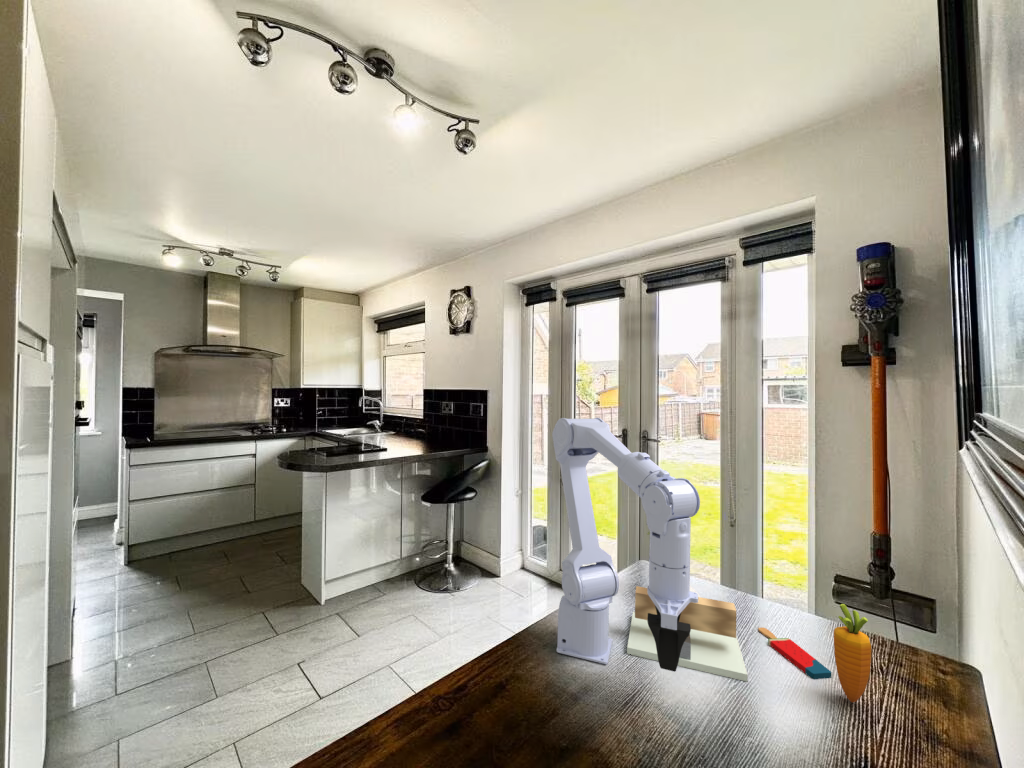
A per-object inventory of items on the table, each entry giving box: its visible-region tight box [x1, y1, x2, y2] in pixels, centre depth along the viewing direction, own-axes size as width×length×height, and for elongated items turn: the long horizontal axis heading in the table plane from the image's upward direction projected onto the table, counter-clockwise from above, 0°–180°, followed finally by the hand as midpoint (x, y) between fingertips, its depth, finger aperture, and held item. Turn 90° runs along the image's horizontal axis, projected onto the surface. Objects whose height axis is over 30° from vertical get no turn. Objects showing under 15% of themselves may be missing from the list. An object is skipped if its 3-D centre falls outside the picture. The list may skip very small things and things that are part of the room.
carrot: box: [833, 603, 872, 703], centre depth 68 cm, size 5×5×15 cm
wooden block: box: [634, 586, 737, 638], centre depth 82 cm, size 18×3×5 cm, turn 70°
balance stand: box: [626, 610, 749, 683], centre depth 82 cm, size 20×14×4 cm
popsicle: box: [757, 626, 832, 680], centre depth 81 cm, size 5×2×15 cm
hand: (667, 652), depth 62 cm, fingers open, 7 cm apart
